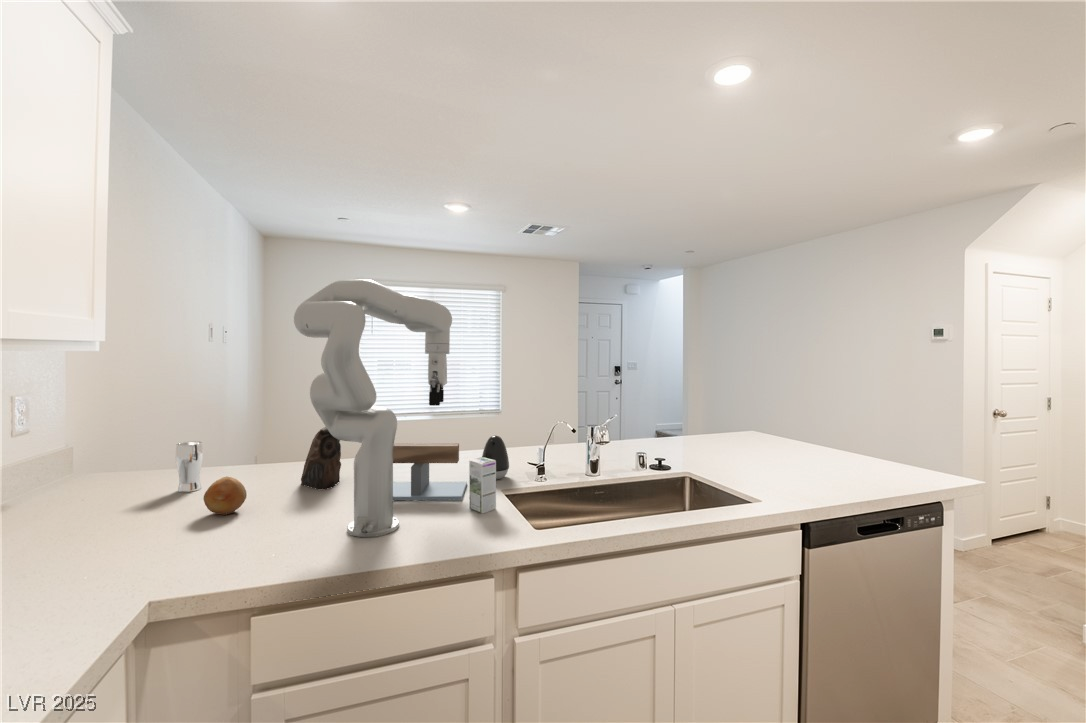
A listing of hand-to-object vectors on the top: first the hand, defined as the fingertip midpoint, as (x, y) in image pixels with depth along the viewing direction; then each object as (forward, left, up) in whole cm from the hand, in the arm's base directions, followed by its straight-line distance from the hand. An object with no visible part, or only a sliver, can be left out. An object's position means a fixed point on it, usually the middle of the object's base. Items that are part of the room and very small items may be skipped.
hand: (436, 403), depth 151 cm
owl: (+12, +40, -29) cm, 51 cm away
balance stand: (+2, +5, -29) cm, 29 cm away
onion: (-16, +55, -29) cm, 65 cm away
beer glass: (+6, +79, -29) cm, 85 cm away
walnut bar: (+2, +5, -19) cm, 20 cm away
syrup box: (-14, -16, -29) cm, 36 cm away
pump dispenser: (+19, -18, -29) cm, 39 cm away
